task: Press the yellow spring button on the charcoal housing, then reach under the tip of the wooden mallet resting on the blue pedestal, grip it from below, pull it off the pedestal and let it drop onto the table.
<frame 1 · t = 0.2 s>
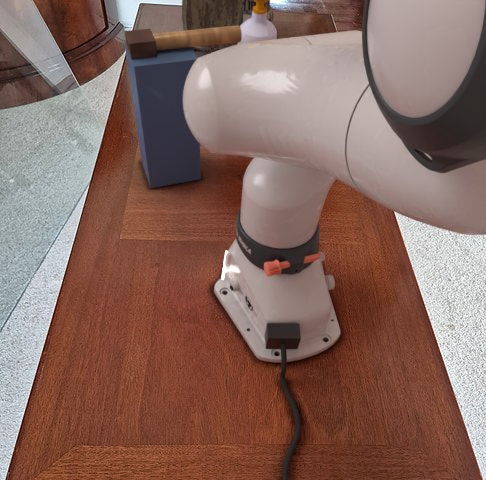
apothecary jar: (249, 36, 126), on the table
wooden mallet: (185, 47, 73), point 24 cm above the table, touching pedestal
tabletop clock: (212, 56, 119), on the table
pedestal: (170, 170, 92), on the table
trigger box: (198, 101, 106), on the table
soap bottle: (254, 73, 115), on the table
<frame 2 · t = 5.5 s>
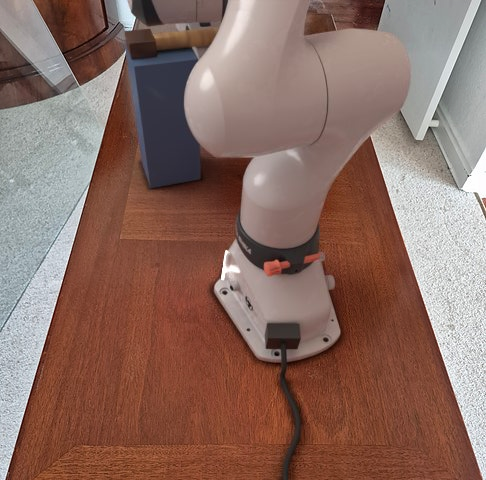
hand: (198, 82, 103), 5 cm above the table, tool pointing down, fingers closed, pressing on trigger
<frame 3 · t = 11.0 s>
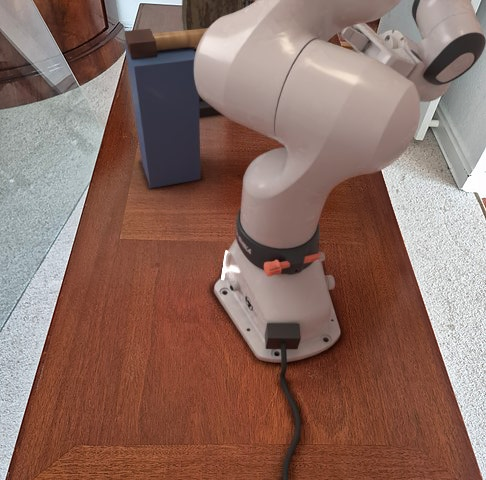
hand: (340, 27, 80), 24 cm above the table, tool pointing upward, fingers closed
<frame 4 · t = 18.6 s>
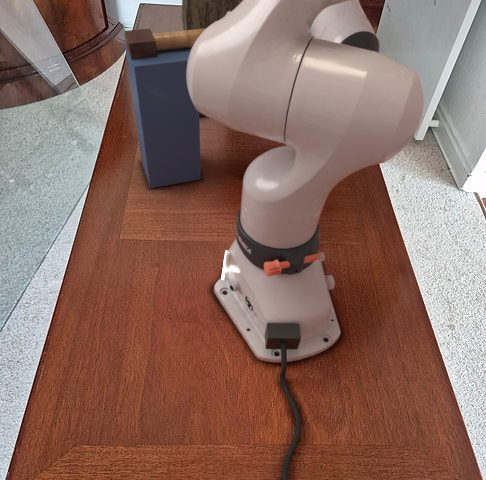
hand: (217, 33, 73), 26 cm above the table, tool pointing upward, fingers closed on wooden mallet, 2 cm apart
wooden mallet: (185, 47, 73), point 24 cm above the table, touching gripper, pedestal
everything else where it was.
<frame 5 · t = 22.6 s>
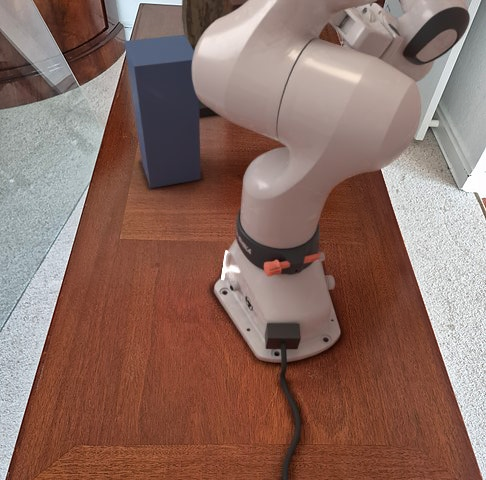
wooden mallet: (281, 10, 74), point 28 cm above the table, touching gripper
everything else where it was.
when the fingers open (15 cm above the table, at t = 26.7 s): wooden mallet drops 14 cm, on the table.
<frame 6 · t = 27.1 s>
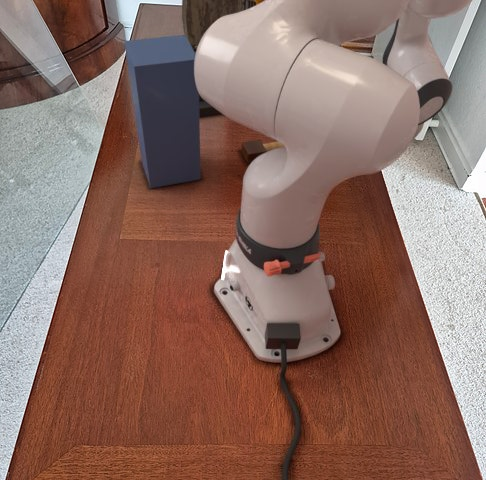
hand: (318, 78, 86), 15 cm above the table, tool pointing upward, fingers open, 6 cm apart
wooden mallet: (284, 151, 98), on the table
everything else where it was.
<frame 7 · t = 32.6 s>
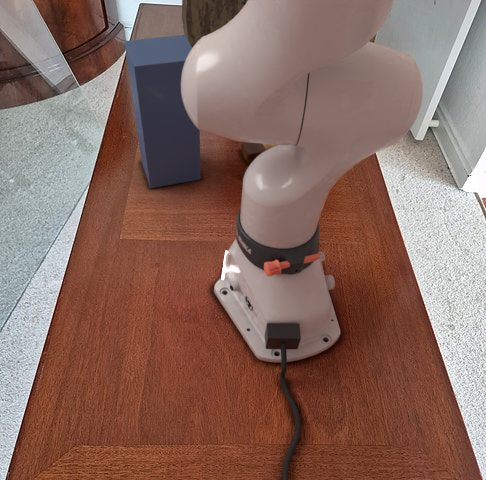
nothing on the table moved.
at the end: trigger pushed in 1.0 cm at the most during the clip, back to where it started at the end; wooden mallet on the table; wooden mallet moved 31.6 cm from its start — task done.
